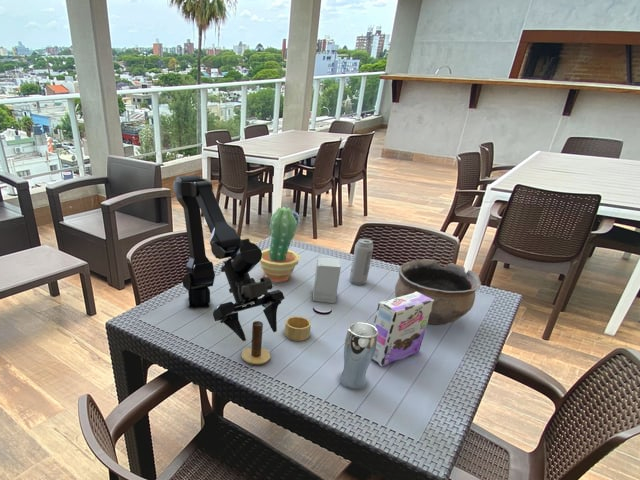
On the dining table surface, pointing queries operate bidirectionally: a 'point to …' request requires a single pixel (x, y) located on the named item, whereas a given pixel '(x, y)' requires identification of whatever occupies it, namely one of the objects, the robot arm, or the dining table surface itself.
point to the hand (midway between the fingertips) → (260, 336)
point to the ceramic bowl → (439, 288)
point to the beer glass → (358, 354)
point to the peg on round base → (256, 347)
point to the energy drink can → (361, 261)
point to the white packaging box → (326, 280)
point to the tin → (297, 328)
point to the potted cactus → (281, 246)
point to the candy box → (401, 327)
